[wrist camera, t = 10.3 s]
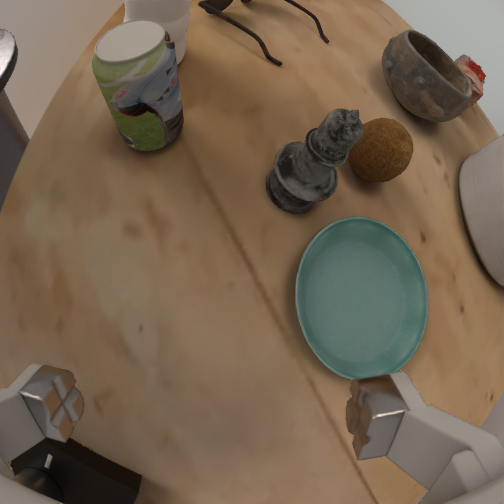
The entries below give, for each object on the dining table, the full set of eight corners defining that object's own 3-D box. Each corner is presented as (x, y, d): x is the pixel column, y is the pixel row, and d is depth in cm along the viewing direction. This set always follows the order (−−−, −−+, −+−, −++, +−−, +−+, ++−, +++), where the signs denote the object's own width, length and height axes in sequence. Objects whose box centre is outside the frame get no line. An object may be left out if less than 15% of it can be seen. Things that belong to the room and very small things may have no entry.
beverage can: (192, 142, 27) (212, 42, 16) (120, 172, 25) (100, 73, 14) (167, 99, 28) (176, 3, 17) (100, 124, 26) (82, 28, 14)
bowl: (414, 146, 36) (461, 107, 27) (346, 64, 37) (379, 18, 28) (449, 127, 41) (486, 96, 32) (393, 59, 42) (423, 24, 33)
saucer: (418, 361, 28) (435, 361, 25) (291, 393, 24) (304, 399, 21) (399, 227, 31) (415, 219, 29) (274, 224, 27) (285, 213, 25)
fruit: (354, 137, 33) (392, 96, 26) (390, 176, 33) (434, 143, 25) (325, 160, 31) (365, 116, 23) (365, 204, 31) (413, 170, 23)
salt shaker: (331, 196, 30) (406, 130, 19) (291, 228, 28) (365, 161, 16) (293, 152, 30) (350, 71, 19) (249, 179, 28) (298, 90, 17)
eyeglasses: (259, -2, 38) (267, -24, 34) (330, 42, 38) (344, 20, 34) (195, 18, 33) (200, -9, 28) (277, 70, 33) (290, 41, 28)
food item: (460, 121, 43) (494, 94, 34) (431, 90, 43) (463, 60, 34) (464, 94, 48) (491, 70, 39) (438, 68, 48) (464, 42, 39)
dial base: (5, 483, 14) (-8, 495, 11) (26, 407, 18) (9, 415, 15) (109, 543, 15) (105, 561, 12) (142, 475, 19) (139, 492, 16)
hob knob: (42, 513, 13) (24, 540, 8) (10, 475, 13) (-15, 496, 8) (72, 500, 14) (55, 530, 9) (38, 461, 14) (13, 484, 10)
